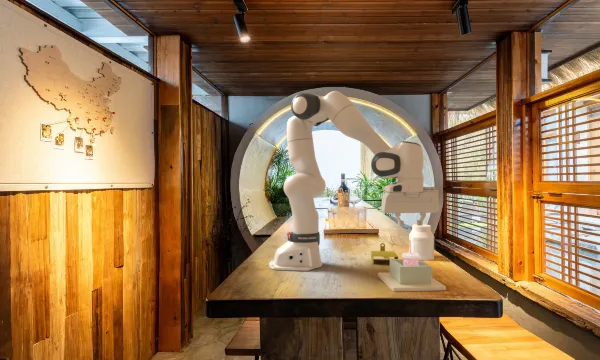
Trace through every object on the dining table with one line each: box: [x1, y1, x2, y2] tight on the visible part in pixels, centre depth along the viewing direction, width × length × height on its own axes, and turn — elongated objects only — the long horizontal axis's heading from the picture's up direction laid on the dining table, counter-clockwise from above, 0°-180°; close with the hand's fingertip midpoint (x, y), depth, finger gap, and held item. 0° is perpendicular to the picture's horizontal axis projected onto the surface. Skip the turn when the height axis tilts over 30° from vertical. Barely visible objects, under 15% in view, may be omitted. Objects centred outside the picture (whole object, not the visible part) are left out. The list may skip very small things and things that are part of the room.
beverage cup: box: [401, 240, 419, 266], centre depth 130 cm, size 6×6×14 cm
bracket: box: [370, 242, 399, 265], centre depth 158 cm, size 16×8×15 cm
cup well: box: [377, 258, 447, 292], centre depth 130 cm, size 18×18×7 cm
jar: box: [408, 223, 435, 261], centre depth 168 cm, size 12×10×15 cm
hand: (410, 225), depth 129 cm, fingers open, 6 cm apart
